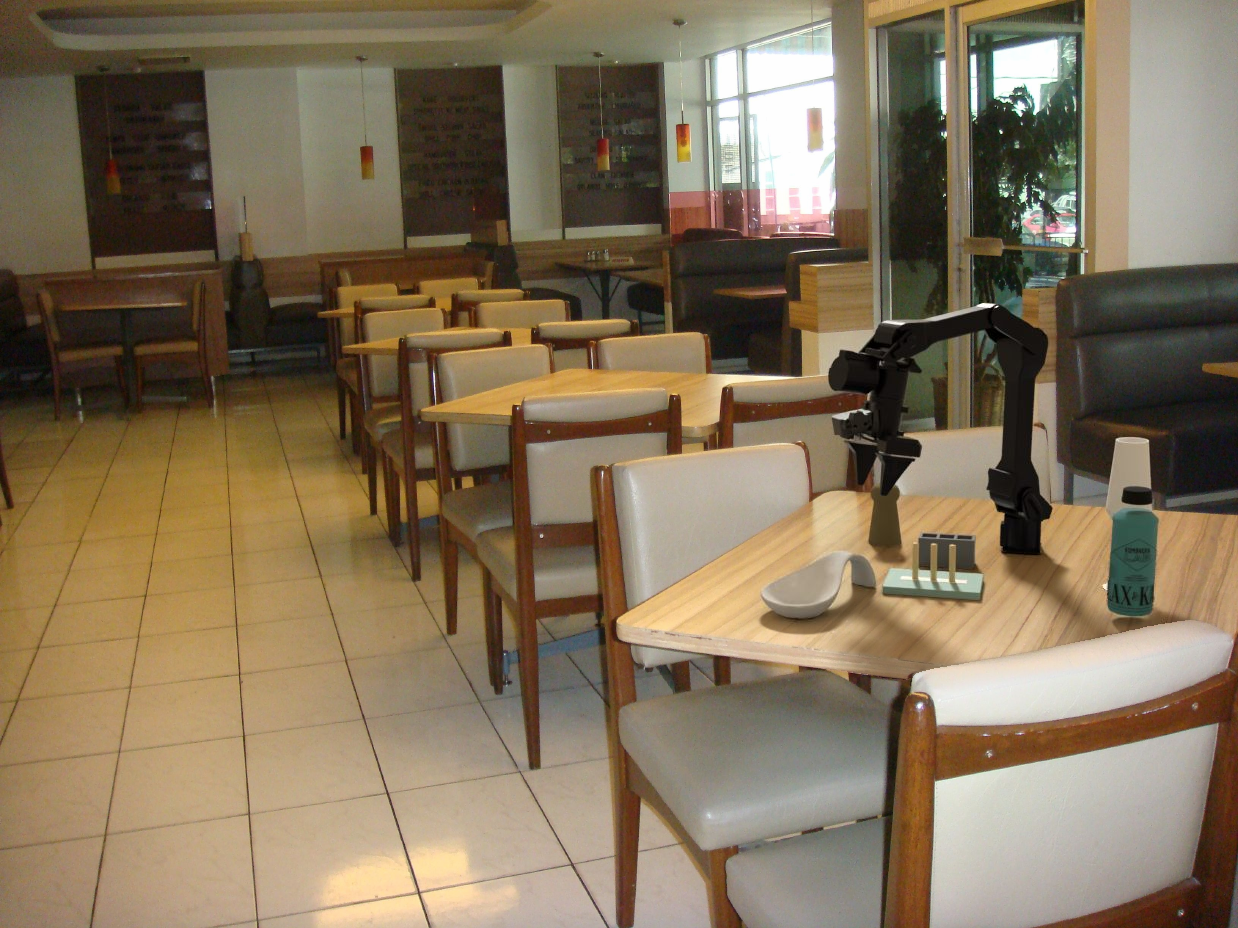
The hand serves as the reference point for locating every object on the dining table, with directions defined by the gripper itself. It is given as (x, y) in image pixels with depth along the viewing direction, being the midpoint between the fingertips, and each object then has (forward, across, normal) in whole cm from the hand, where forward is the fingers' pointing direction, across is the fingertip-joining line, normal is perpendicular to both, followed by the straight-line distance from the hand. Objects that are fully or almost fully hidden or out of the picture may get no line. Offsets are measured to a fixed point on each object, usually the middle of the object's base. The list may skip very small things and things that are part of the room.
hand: (871, 490), depth 201 cm
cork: (+12, -18, +13) cm, 25 cm away
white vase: (+9, +20, +37) cm, 42 cm away
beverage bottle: (+11, +32, +29) cm, 44 cm away
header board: (+13, +9, +9) cm, 19 cm away
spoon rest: (+18, +10, -10) cm, 23 cm away
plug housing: (+12, -1, +17) cm, 21 cm away
